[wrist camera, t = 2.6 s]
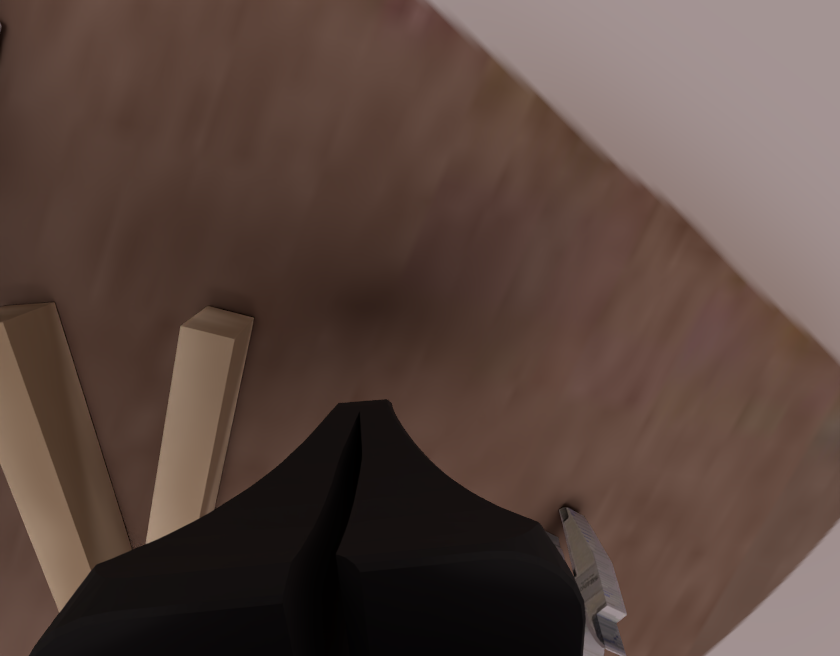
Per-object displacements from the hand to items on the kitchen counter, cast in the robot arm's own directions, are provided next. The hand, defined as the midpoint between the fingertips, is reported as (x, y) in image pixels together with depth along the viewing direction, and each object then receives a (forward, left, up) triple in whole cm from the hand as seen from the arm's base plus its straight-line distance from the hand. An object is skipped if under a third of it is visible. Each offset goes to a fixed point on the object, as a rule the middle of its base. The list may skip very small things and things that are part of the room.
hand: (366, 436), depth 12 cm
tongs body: (-11, -7, -7) cm, 14 cm away
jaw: (-7, -5, -7) cm, 11 cm away
